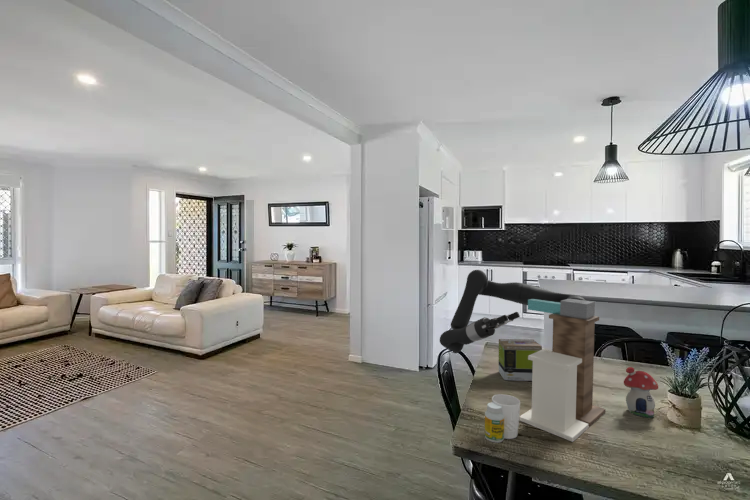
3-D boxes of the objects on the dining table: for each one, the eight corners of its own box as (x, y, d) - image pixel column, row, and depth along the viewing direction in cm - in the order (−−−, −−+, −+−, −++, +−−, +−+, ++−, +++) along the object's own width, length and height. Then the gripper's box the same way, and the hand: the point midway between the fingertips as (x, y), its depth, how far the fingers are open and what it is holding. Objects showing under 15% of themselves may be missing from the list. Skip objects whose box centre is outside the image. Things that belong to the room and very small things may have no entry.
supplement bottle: (497, 432, 108) (498, 400, 108) (507, 442, 103) (508, 408, 103) (480, 434, 107) (481, 402, 107) (490, 444, 102) (491, 410, 102)
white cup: (519, 428, 110) (519, 396, 110) (520, 442, 103) (521, 407, 103) (491, 424, 113) (492, 392, 113) (490, 437, 106) (491, 403, 105)
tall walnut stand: (605, 412, 121) (608, 316, 120) (589, 426, 112) (592, 323, 111) (555, 396, 133) (558, 309, 132) (538, 408, 124) (540, 314, 123)
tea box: (533, 373, 156) (534, 339, 156) (542, 382, 146) (543, 345, 146) (497, 371, 158) (498, 337, 157) (503, 380, 148) (504, 344, 147)
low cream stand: (588, 427, 111) (590, 359, 111) (572, 441, 103) (574, 368, 103) (536, 408, 123) (538, 347, 123) (519, 420, 116) (520, 354, 115)
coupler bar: (594, 316, 120) (594, 301, 120) (586, 319, 115) (586, 304, 115) (534, 307, 135) (534, 294, 135) (525, 310, 131) (525, 296, 130)
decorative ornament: (622, 412, 121) (623, 367, 121) (623, 405, 127) (624, 362, 126) (657, 421, 116) (659, 374, 115) (657, 413, 121) (658, 368, 121)
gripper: (466, 323, 145) (498, 308, 135) (485, 318, 155) (517, 304, 144) (473, 341, 143) (507, 328, 132) (493, 335, 152) (526, 322, 141)
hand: (512, 315), depth 138 cm, fingers open, 8 cm apart
